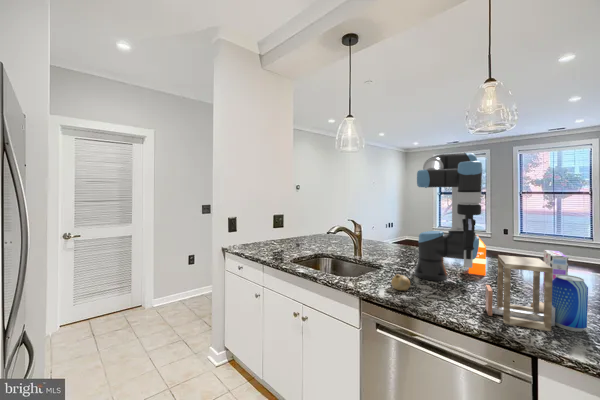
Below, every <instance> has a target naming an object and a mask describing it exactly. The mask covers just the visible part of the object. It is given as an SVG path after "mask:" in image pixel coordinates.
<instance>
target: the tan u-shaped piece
mask: <svg viewBox="0 0 600 400" xmlns="http://www.w3.org/2000/svg"><path fill="white" fill-rule="evenodd" d="M493 294H494V293H493V289H492V287H491V284H485V310H486V313H487V316H490V317H493V314H494V315H499V316H503V309H504V308H502V307H497V305H496V306H494V305H493V300H494V299H493V296H494V295H493ZM510 317H515V318H521V319H527V320H534V321H540V322H544V313H541V312H539V313H534V312H528V311H521V310H515V309H510ZM552 326H553V327H555V326H556V325H555V307H554V306H553V305H552V317H551V327H552Z"/></svg>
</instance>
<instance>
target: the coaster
mask: <svg viewBox="0 0 600 400" xmlns="http://www.w3.org/2000/svg"><path fill="white" fill-rule="evenodd" d="M530 307H532V308H533V302H531V303H530ZM539 313H541V314H544V301H543V302H542V301H539Z"/></svg>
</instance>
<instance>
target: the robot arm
mask: <svg viewBox="0 0 600 400" xmlns="http://www.w3.org/2000/svg"><path fill="white" fill-rule="evenodd" d="M482 173H483V163H482V162H481V161H479V160H478V158H477V156H476V154H475V153H473V152H457V153H440V154H437V155H433V156H431V157H430V158H428V159H426V161H424V163H423V167H422V169H419V170H417V172H416V185H417V187H418V188H424V189H427V188H451V228H450V229H449V230H448V234H446V233H444V231H443V230H428V231H423V232H421V233H419V235H418V241H417V242H418V259H417V260H418V261H417V264H416V266H415V269H414V276H415V277H417V278H419V279H422V280H427V281H439V282H440V281H445V280H447V279H448V272H447V270H446V267H445V264H444V258H445V259H446V258H447V259H456V260H457V259H459V260H463V268H468V269H469V268H472V264H473V259H475V258H476V256H477V253H478V248H479V238H480V236H479V235H478V236H477V235H476V231H475V230H476V229H475V228H476V227H475V226H476V222H477V221H476V219H475V218H474V216H481V215H482V205H481V203H482V198H484V194H482V178H483V176H482V175H483V174H482Z"/></svg>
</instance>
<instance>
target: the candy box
mask: <svg viewBox="0 0 600 400" xmlns="http://www.w3.org/2000/svg"><path fill="white" fill-rule="evenodd" d="M543 262H545V263H546V264H548V265H549V266H550V267H552V268H553V276H552V281H553V280H554V279H555V278H556V275H569V256H568V255H566V254H564V253H563V252H561V251H558V250H550V249H544V250H543ZM544 283H545V272H543V285H544Z"/></svg>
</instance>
